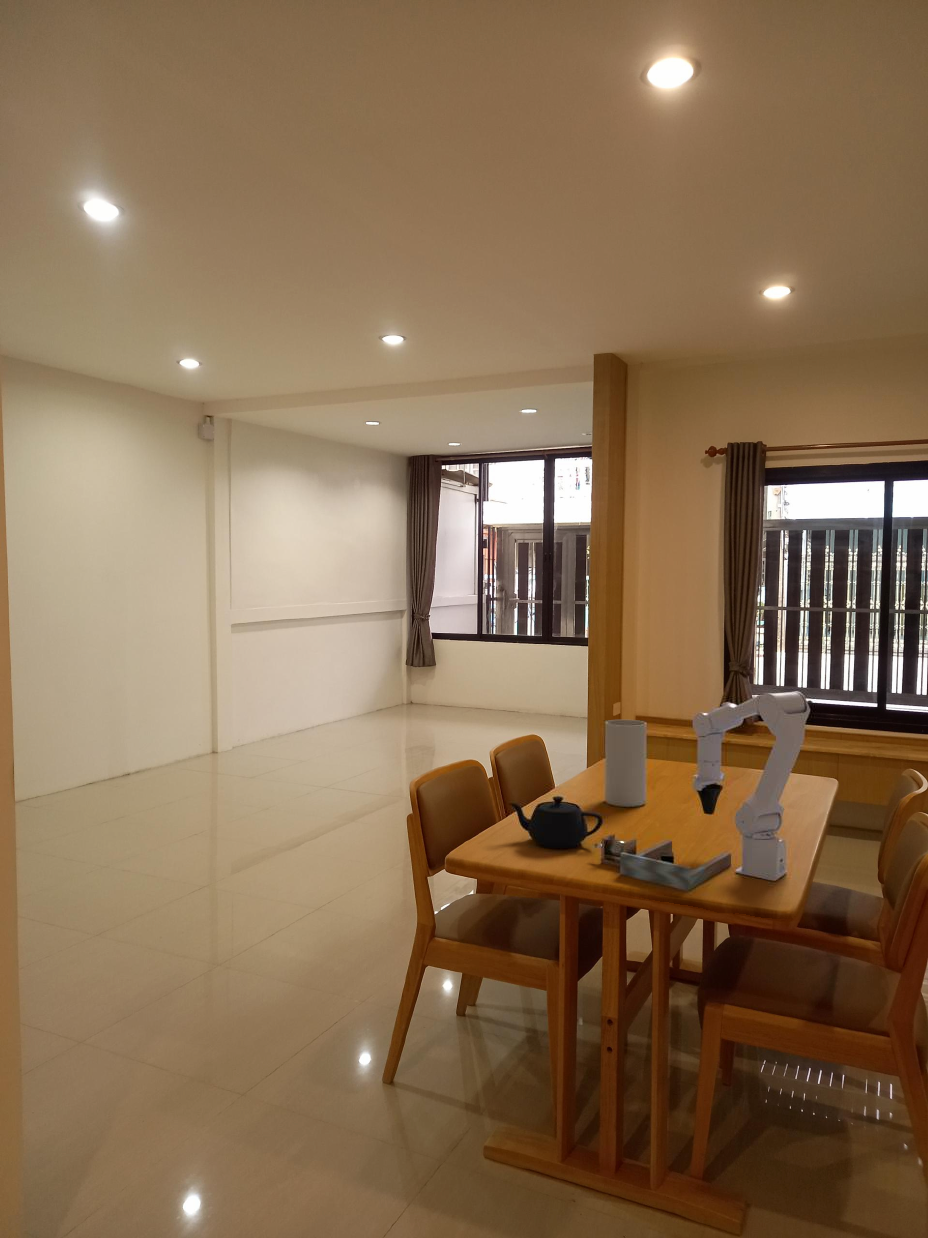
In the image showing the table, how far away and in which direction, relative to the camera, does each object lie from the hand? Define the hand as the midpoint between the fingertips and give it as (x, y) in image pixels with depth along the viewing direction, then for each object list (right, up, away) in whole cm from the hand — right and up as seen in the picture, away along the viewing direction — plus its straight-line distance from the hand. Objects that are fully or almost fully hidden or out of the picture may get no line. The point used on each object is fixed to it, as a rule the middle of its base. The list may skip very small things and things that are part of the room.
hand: (708, 813), depth 218 cm
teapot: (-38, -10, +9) cm, 40 cm away
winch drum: (-25, -10, -7) cm, 28 cm away
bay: (-11, -10, -13) cm, 20 cm away
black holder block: (-14, -11, -13) cm, 22 cm away
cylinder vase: (-12, -8, +51) cm, 53 cm away
